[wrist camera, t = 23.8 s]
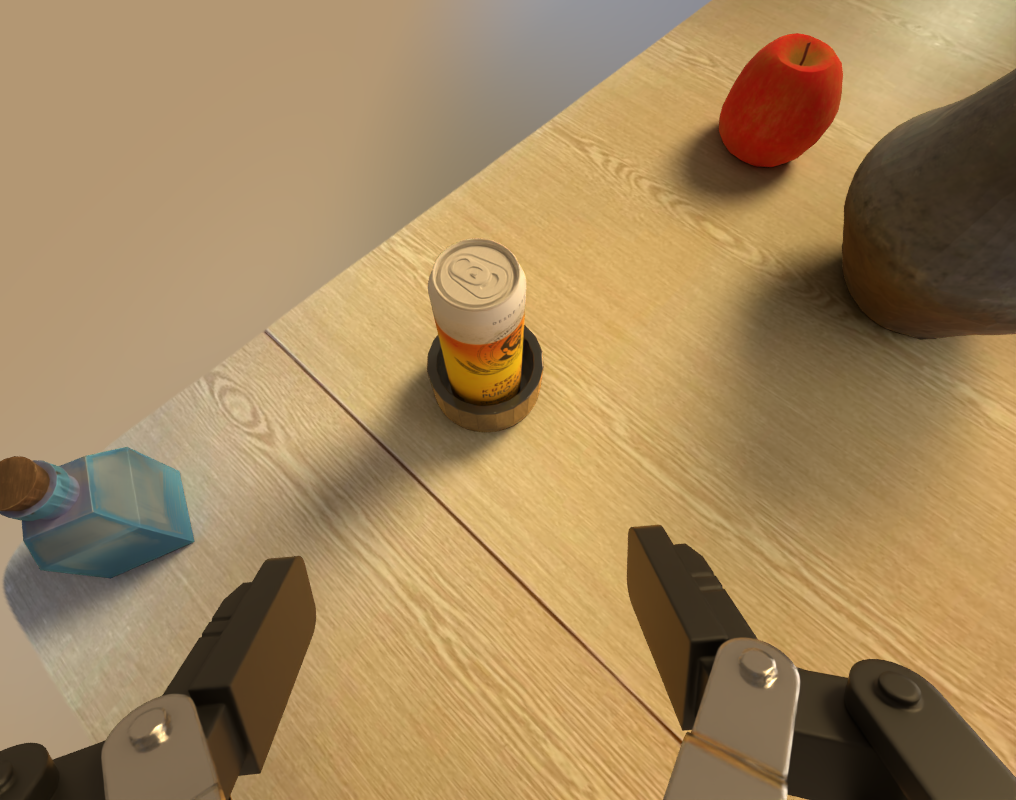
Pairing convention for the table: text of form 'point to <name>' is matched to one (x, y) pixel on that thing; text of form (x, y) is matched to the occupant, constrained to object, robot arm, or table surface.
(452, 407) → the round brown bowl
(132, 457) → the perfume bottle
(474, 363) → the beer can
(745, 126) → the apple
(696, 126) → the table surface
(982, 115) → the pitcher
